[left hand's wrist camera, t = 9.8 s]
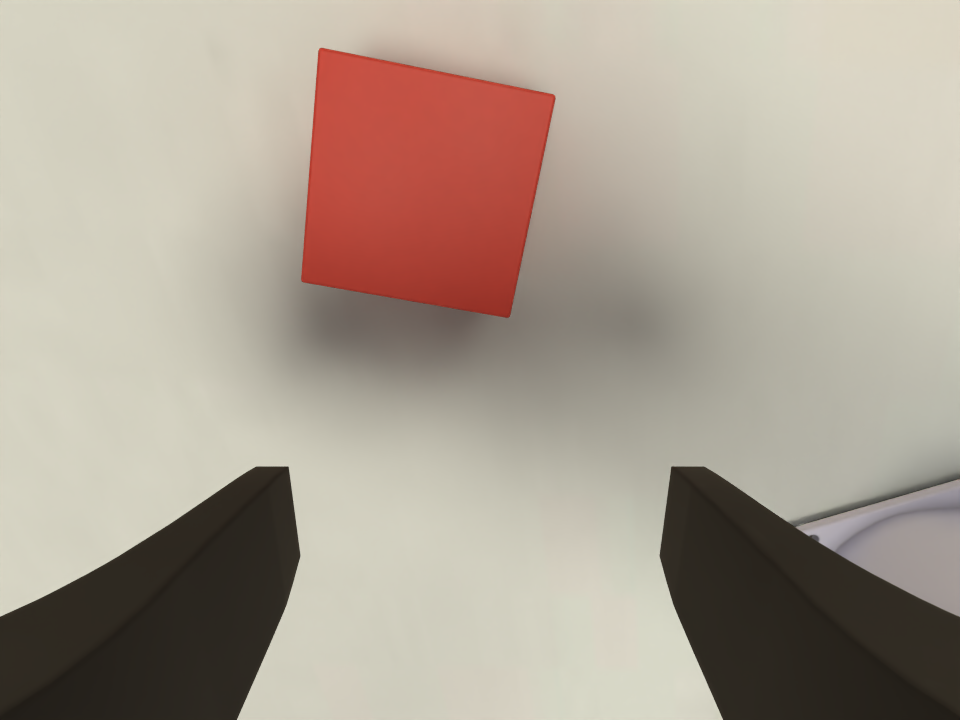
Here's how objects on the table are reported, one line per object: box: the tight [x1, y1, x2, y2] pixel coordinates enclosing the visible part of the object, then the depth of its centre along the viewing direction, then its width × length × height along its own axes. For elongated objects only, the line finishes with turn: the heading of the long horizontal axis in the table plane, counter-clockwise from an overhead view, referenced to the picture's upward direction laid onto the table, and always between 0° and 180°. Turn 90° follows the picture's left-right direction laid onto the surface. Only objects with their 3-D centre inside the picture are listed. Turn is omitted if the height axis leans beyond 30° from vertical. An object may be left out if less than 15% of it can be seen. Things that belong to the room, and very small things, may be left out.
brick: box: [301, 48, 555, 318], centre depth 15 cm, size 5×5×4 cm
